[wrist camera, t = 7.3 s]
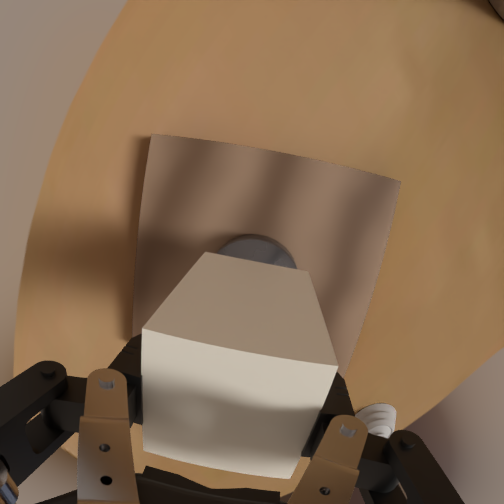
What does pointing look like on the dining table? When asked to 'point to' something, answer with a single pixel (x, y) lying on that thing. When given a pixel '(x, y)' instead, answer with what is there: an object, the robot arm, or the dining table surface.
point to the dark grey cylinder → (258, 250)
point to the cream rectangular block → (236, 367)
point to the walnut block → (263, 223)
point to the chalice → (379, 421)
